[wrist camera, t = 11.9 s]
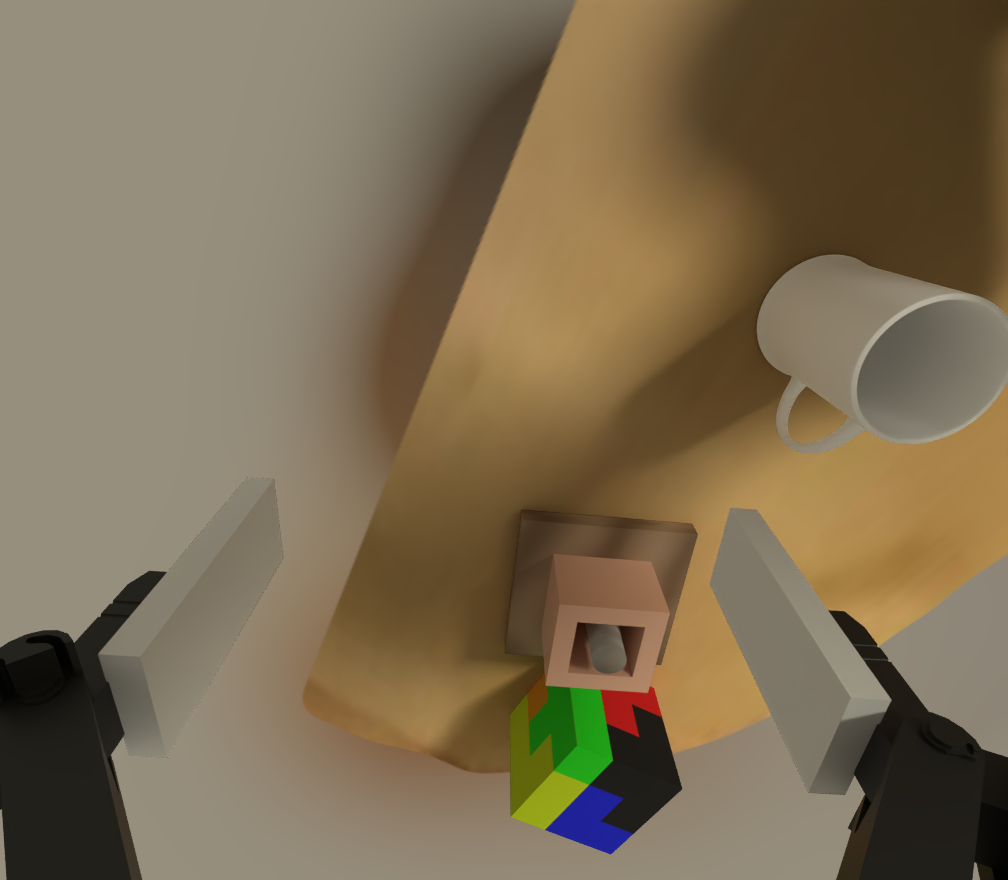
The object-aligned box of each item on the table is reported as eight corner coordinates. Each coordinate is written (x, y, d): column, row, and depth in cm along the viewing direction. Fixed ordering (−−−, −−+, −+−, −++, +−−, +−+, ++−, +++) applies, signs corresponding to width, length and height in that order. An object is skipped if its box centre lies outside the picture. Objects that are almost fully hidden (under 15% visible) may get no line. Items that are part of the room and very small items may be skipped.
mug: (779, 431, 44) (868, 517, 33) (697, 367, 42) (764, 437, 31) (908, 304, 40) (1058, 355, 29) (824, 226, 38) (952, 250, 27)
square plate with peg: (692, 523, 48) (728, 592, 40) (657, 652, 54) (682, 733, 46) (521, 509, 47) (524, 576, 39) (505, 641, 53) (505, 721, 45)
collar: (651, 561, 47) (670, 612, 42) (632, 636, 51) (647, 692, 45) (553, 553, 47) (559, 604, 42) (541, 629, 50) (545, 685, 45)
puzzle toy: (594, 749, 59) (610, 854, 50) (509, 714, 57) (510, 817, 48) (653, 687, 56) (682, 788, 47) (565, 647, 53) (577, 745, 44)
